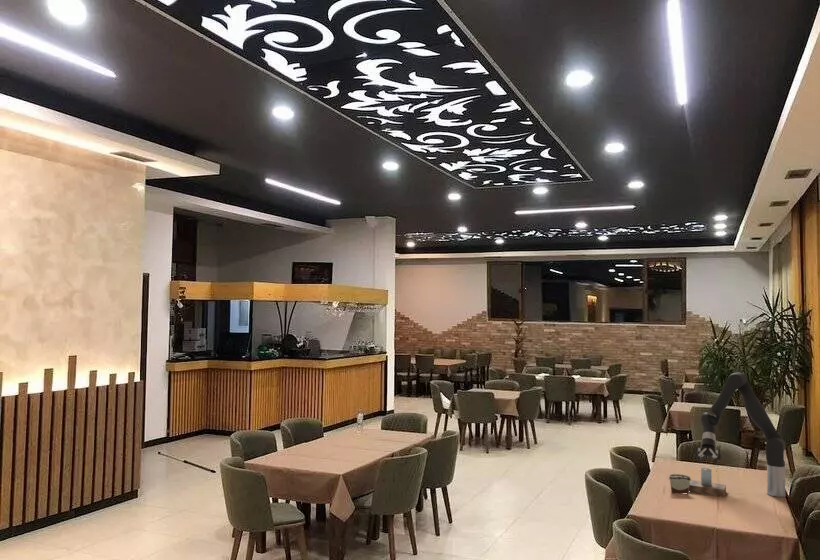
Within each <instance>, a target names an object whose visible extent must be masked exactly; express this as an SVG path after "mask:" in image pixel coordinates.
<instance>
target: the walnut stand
mask: <svg viewBox="0 0 820 560" xmlns="http://www.w3.org/2000/svg"><path fill="white" fill-rule="evenodd" d="M689 491H690V492H689V493H693V492H696V493H695V494H700V493H701V495H708V496H713V497H714V496H715V497H720V496H721V497H722V498H725V497H726V492H727V485H726V484H725V483H717V482H712V485H711V486H705V485H702V484H701V480H694V479H691V481H690V484H689ZM724 496H725V497H724Z"/></svg>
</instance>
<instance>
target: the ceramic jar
mask: <svg viewBox="0 0 820 560" xmlns="http://www.w3.org/2000/svg"><path fill="white" fill-rule="evenodd" d="M712 475H713V474H712V468H706V467H702V468H700V477H701V478H700V481H701V484H702V485H705V486H711V485H712V483H713V481H712Z"/></svg>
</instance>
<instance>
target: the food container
mask: <svg viewBox="0 0 820 560" xmlns="http://www.w3.org/2000/svg"><path fill="white" fill-rule="evenodd" d="M668 480H669V481H670V482H669V483H670V490H671V491H670V492H671V494H672V493H687V494H686V495H689V493H690V492H689V484H690V481H691V480H692V479H691V476H689V475H686V474H681V473H680V474H679V473H678V474H675V473H673V474H670V475H669V476H668Z"/></svg>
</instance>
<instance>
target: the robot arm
mask: <svg viewBox="0 0 820 560" xmlns="http://www.w3.org/2000/svg"><path fill="white" fill-rule="evenodd" d="M726 379H727V380H726V381H725V383H724V386H723V388H722V390H721V391H720V393H719V395H718V396H717V398H716V399H715V401H714V403H712V406H711V407H710V411H711V412H712V413H713V414H711V413H709V412H703V413H702V415H701V416H700V423H701V426H702V429H703V431H702V436H701V437H702V438H701V447H698V446H695V450H694V457H695V458H697V463H699V464H701V458H702V457H704V456H705V457H712V458H713V459H714V466H716V465H718V461H722V460H721V459H722V456H721V455H722V453H721V449H720V448H719V449H716V439H717V438H716V432H717V430H716V427H718V426H719V423H720V422H721V421H720V420H721V418H722V414H723V413H724V411H725V409H726V408H727V407H728V405H729V403H730V400H731V397H732V396H733V395H734V393H735V392H736V391H737V390H738V391H739V393H740V395H741V396H742V399H743V403H744V407H745V411H746V412H747V414H748V416H749V418H750V419H751V421H752V422H753V423H754V424H755V426H756V427H758V429H760V431H761V432H762V433H763V435H764V437H765V439H766V443H765V459H766V469H767V470H766V484H767V485H766V493H767V495H769V496H771V497H778V498H786V462H785V458H784V455H785V454H784V452H785V450H786V448H787V444H786V442H785V440H784V438H783V437H782V436H781V434H780V433H779V432H778V431H777V429H776V428H775V426H774V424H773V422H772V420H771V418H770V417H769V415H768V413H767V411H766V409H765V408H764V406H763V404H762V403H761V402H760V400H759V398H758V397H757V395H756V394H755V392H754V390H753V388H752V386H751V384H750V382H749V380H748V377H747V376H746V375H745V374H744V373H742V372H739V371H737V372H734V373H731V374H729V375H728V377H727V378H726ZM716 454H718V456H717V455H716Z"/></svg>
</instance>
